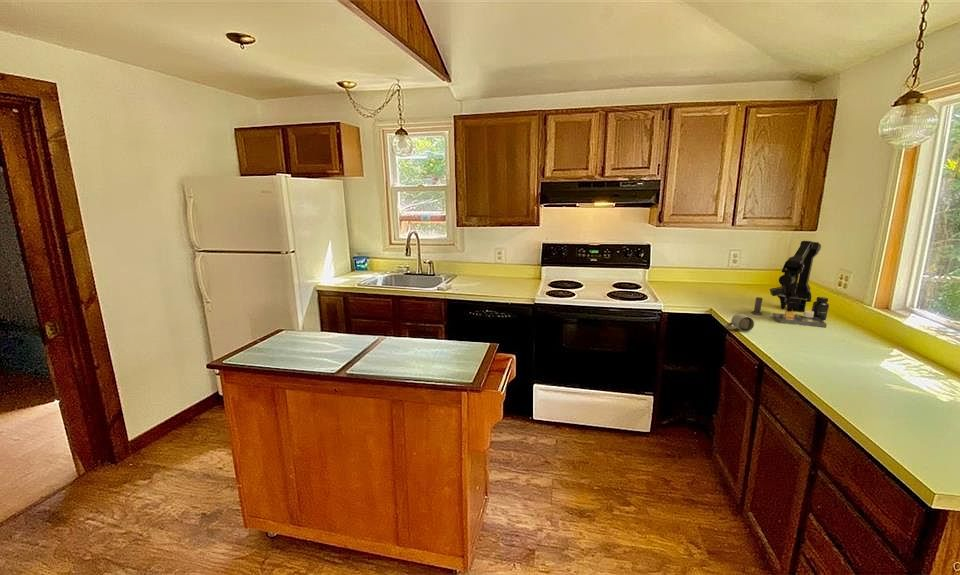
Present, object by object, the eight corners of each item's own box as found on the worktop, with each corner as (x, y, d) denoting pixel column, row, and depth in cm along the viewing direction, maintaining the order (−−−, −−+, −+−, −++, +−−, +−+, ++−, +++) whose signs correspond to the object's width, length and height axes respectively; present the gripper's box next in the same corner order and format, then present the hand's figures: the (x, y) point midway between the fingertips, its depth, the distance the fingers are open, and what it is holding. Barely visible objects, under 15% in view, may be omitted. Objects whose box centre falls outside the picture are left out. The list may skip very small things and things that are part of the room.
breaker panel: (772, 316, 232) (773, 311, 231) (816, 320, 225) (817, 315, 225) (779, 322, 221) (780, 317, 220) (826, 327, 214) (827, 322, 214)
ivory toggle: (803, 315, 225) (804, 310, 225) (811, 316, 224) (812, 310, 223) (804, 316, 223) (806, 311, 223) (813, 317, 222) (814, 311, 222)
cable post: (750, 311, 240) (752, 296, 238) (760, 312, 238) (763, 297, 236) (752, 314, 235) (755, 298, 233) (763, 315, 233) (766, 299, 231)
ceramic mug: (744, 326, 213) (746, 312, 212) (753, 332, 205) (755, 317, 204) (722, 326, 214) (724, 311, 212) (730, 331, 206) (733, 316, 204)
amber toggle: (784, 316, 224) (785, 310, 223) (792, 316, 223) (793, 311, 222) (785, 317, 222) (786, 311, 222) (793, 318, 221) (794, 312, 220)
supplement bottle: (819, 321, 224) (824, 299, 221) (806, 317, 231) (811, 296, 228) (829, 320, 226) (833, 298, 223) (816, 316, 232) (820, 295, 230)
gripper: (767, 278, 236) (762, 305, 240) (778, 285, 219) (772, 314, 222) (791, 280, 232) (786, 307, 236) (803, 287, 215) (798, 317, 219)
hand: (785, 311), depth 228 cm, fingers open, 9 cm apart
